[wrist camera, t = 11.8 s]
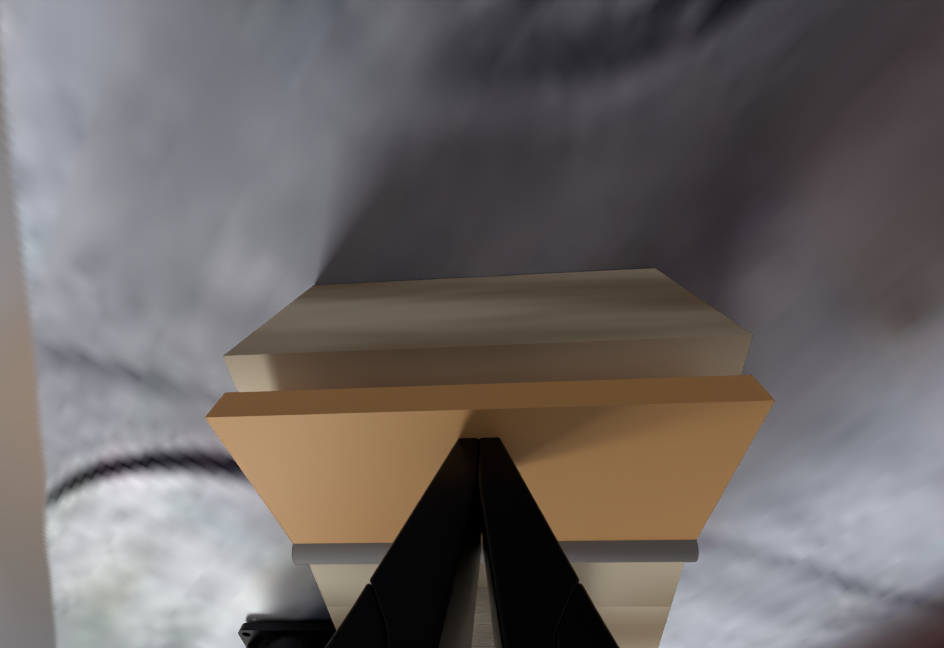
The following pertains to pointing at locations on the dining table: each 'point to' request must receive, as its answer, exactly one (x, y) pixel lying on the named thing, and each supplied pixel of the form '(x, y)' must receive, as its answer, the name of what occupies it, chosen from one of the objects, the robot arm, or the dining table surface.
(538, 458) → the tan wooden plank
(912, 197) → the dining table surface
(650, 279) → the hitch block
